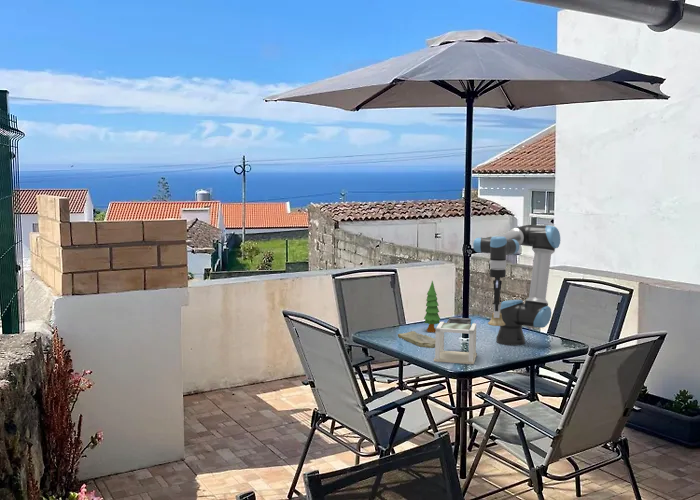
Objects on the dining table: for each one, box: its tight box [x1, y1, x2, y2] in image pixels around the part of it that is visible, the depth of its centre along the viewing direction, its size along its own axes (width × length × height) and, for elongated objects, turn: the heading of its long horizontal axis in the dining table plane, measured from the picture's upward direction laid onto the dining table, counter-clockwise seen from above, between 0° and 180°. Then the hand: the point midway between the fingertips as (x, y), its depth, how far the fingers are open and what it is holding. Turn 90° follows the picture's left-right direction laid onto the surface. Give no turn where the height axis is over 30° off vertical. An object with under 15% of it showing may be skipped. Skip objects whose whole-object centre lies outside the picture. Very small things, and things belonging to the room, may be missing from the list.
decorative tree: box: [423, 280, 441, 333], centre depth 398 cm, size 10×9×30 cm
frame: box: [433, 321, 478, 365], centre depth 337 cm, size 19×19×16 cm
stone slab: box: [397, 330, 435, 349], centre depth 372 cm, size 12×4×30 cm
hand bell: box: [487, 299, 505, 327], centre depth 331 cm, size 8×8×16 cm
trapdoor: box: [442, 316, 472, 330], centre depth 342 cm, size 13×25×2 cm, turn 165°
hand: (496, 316), depth 332 cm, fingers closed on hand bell, 5 cm apart
